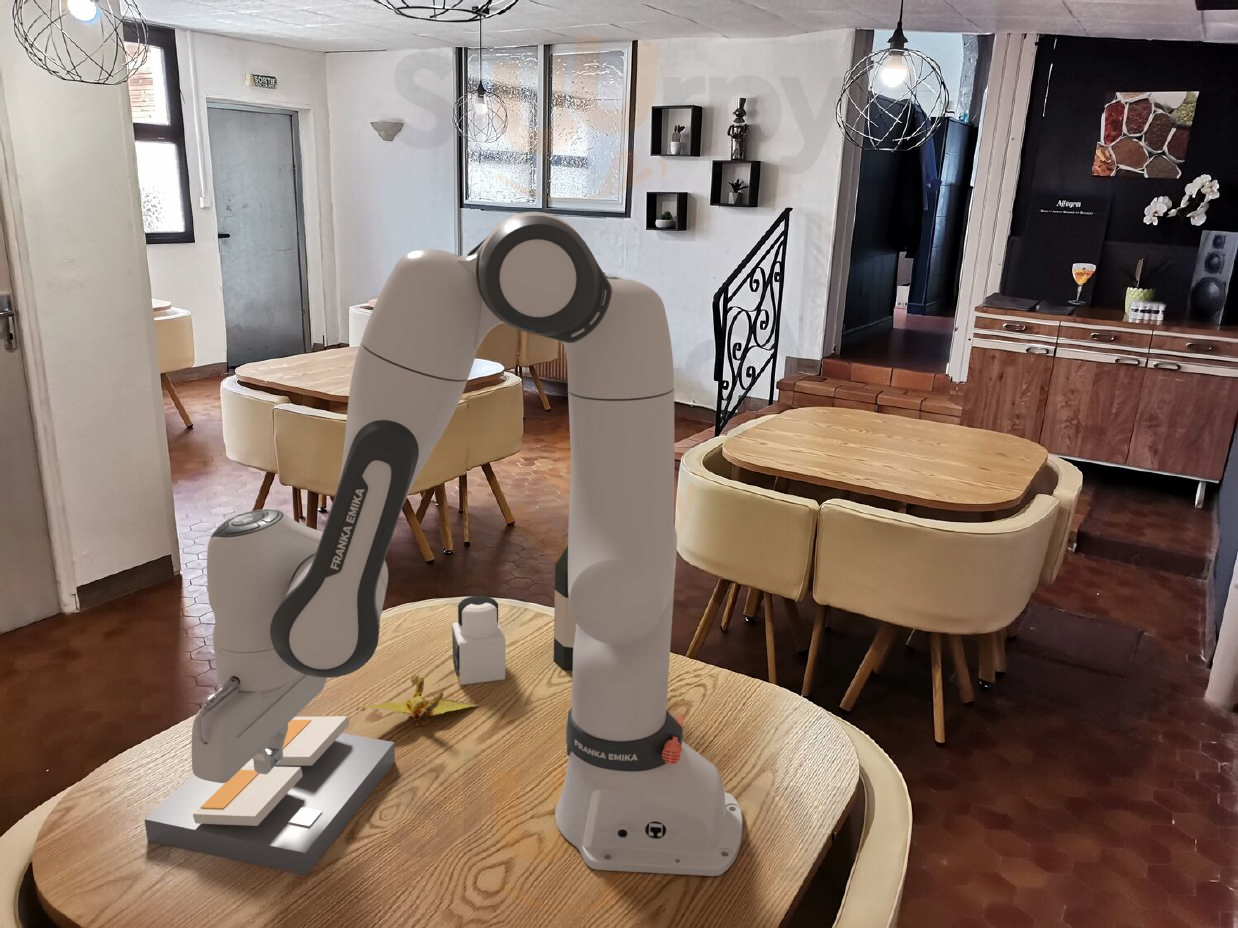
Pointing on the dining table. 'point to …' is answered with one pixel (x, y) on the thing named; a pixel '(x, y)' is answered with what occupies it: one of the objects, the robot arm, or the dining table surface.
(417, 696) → the origami crane
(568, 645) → the wine bottle
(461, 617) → the medicine bottle
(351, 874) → the dining table surface
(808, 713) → the dining table surface
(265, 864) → the switch panel
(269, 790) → the left rocker
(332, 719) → the right rocker
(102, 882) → the dining table surface
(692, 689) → the dining table surface
